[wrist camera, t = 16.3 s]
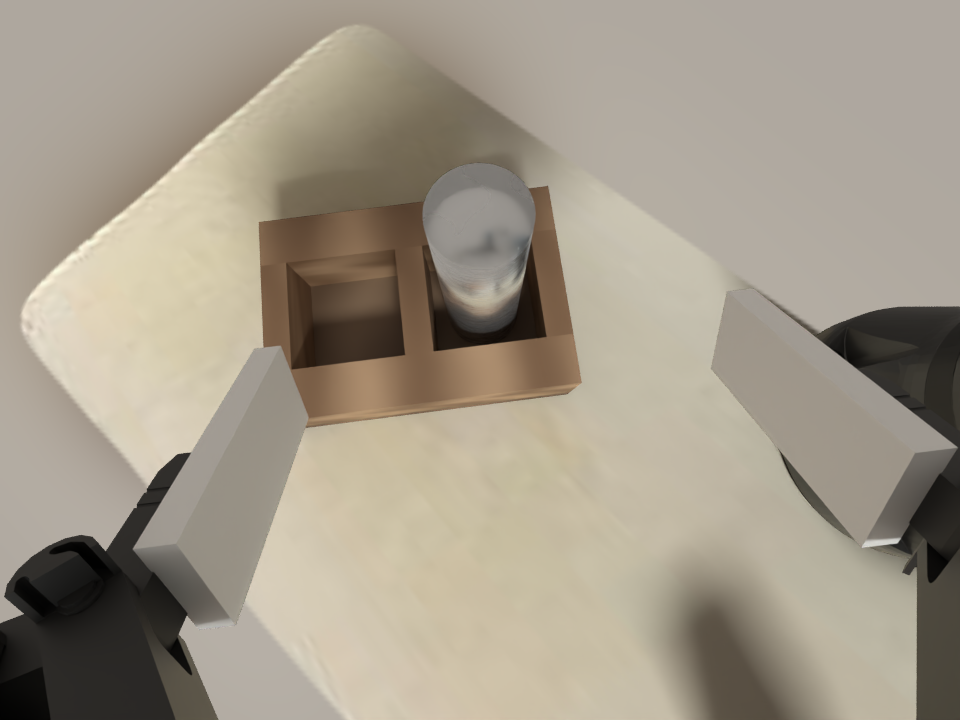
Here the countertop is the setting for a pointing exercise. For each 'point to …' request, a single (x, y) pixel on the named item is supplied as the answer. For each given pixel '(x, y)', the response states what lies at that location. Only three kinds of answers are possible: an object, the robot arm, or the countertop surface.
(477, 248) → the pin
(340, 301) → the socket block
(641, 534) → the countertop surface
